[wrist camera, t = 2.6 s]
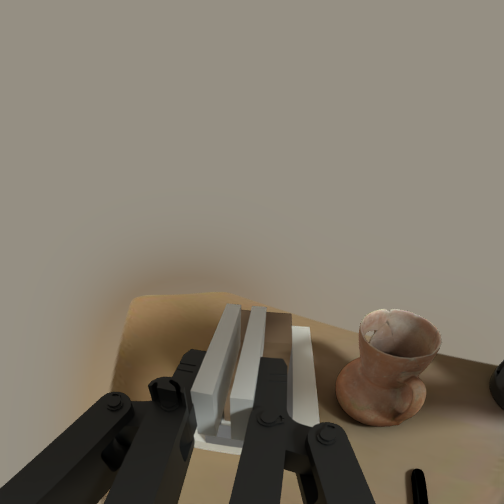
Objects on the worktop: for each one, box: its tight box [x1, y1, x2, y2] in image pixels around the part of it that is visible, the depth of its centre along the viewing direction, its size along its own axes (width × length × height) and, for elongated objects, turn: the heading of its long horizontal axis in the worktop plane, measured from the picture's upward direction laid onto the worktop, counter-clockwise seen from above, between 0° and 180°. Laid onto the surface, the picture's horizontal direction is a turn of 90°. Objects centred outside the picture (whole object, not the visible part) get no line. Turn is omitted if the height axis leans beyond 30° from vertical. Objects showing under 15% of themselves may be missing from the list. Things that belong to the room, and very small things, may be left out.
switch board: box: [194, 326, 320, 455], centre depth 40 cm, size 18×30×4 cm, turn 174°
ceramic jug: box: [335, 309, 441, 427], centre depth 32 cm, size 18×14×14 cm
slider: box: [224, 310, 292, 421], centre depth 31 cm, size 7×6×14 cm
